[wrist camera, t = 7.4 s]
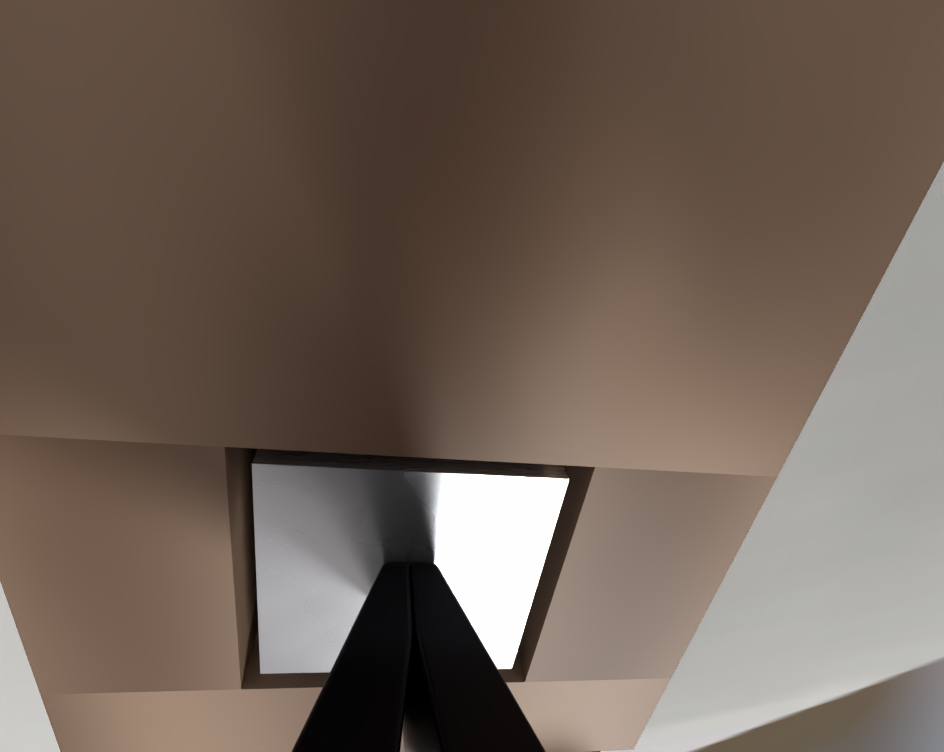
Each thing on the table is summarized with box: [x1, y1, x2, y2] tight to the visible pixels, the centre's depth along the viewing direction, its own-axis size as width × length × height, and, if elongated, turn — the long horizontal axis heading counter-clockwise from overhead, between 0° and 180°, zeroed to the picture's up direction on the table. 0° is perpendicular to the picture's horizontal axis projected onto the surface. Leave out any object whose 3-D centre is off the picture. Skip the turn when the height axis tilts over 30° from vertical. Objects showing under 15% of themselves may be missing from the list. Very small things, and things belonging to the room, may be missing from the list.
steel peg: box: [252, 449, 569, 674], centre depth 11 cm, size 4×4×6 cm
